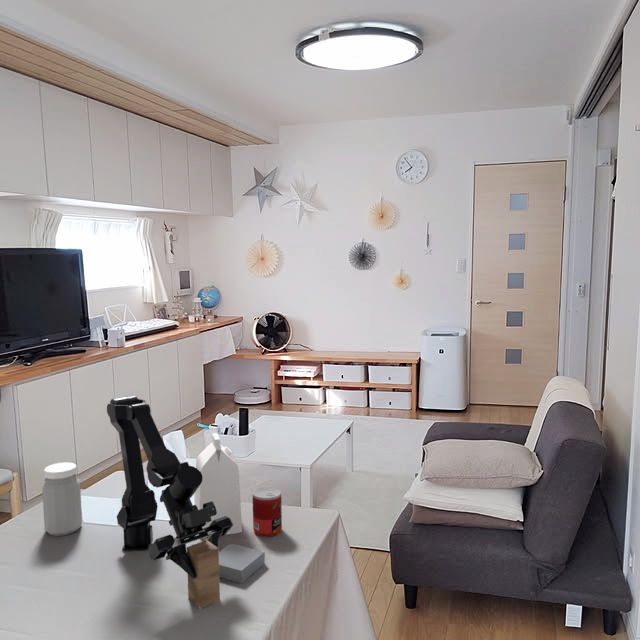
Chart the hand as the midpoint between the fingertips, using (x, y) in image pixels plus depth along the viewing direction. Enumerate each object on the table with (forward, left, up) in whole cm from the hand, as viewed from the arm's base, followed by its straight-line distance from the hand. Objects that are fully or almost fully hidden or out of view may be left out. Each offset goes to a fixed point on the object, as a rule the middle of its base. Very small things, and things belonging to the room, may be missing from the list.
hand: (206, 573), depth 133 cm
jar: (-45, +39, -7) cm, 60 cm away
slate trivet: (+5, +14, -7) cm, 16 cm away
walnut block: (-1, +1, -7) cm, 7 cm away
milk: (-2, +38, -7) cm, 39 cm away
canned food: (+12, +34, -7) cm, 37 cm away
